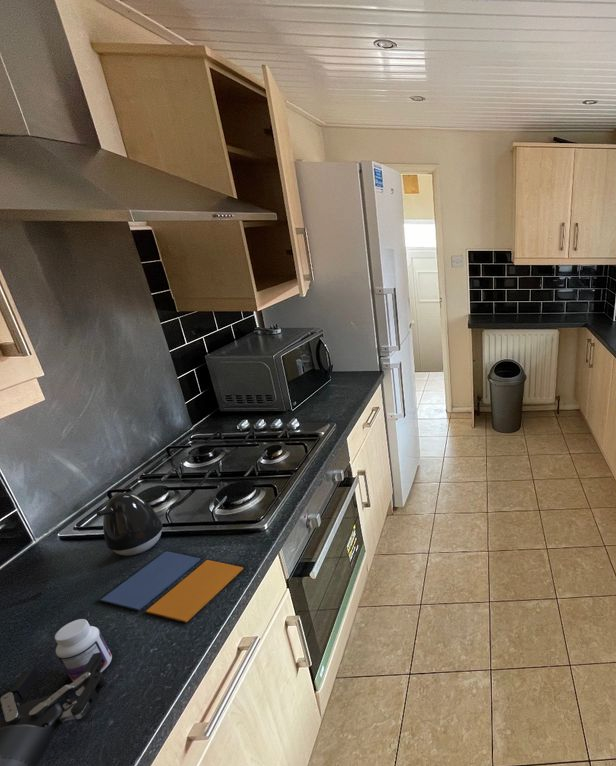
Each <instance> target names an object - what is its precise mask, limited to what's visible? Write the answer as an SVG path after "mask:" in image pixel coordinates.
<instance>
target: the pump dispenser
mask: <svg viewBox="0 0 616 766" xmlns="http://www.w3.org/2000/svg"><path fill="white" fill-rule="evenodd" d="M95 514H96V516H97V517H103V519H102V527H103V528H102V529H103V537H104V541H105V544H106V547H107V548H108V549H109V550H111V551H113V553H116V554H118V555H120V556H134V555H138V554H142V553H144V552H146V551H148V550H149V549H152V547H154V546H155V545H156V544H157V543H158V541H159V540H160V538H161V536H162V531H163V523H162V520H161V518H160V516H159V515H158V513H157V512H156V510H154V508H153V507H152V506H151V505H150V504H149V503H148V502H147V501H146V500H144V499H143V498H142V497H140V496H139V495H137V494H135V493H131V492H121V493H117V494H115V495H114V496H112V497H111V498H110V499H109V500H108V501H107V503H106V505H105V508H104V509H101V510H98V511H97V512H96V513H95Z"/></svg>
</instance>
